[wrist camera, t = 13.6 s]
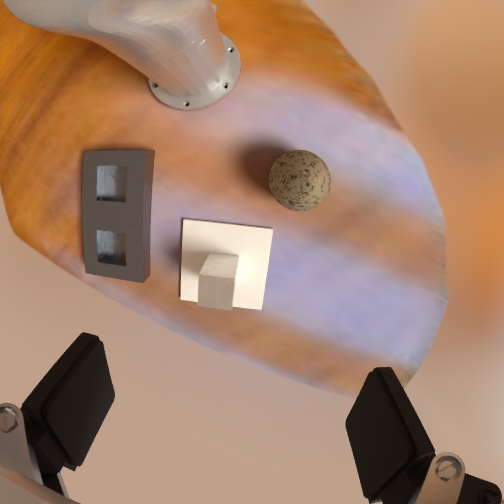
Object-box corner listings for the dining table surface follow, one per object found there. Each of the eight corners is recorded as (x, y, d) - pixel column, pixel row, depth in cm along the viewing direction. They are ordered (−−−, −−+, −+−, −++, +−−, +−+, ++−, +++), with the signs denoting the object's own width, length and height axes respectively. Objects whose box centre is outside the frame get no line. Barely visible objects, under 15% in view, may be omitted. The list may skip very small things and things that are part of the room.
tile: (184, 218, 38) (183, 219, 37) (272, 228, 38) (273, 229, 37) (181, 297, 41) (180, 299, 41) (261, 307, 41) (261, 309, 41)
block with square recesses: (94, 151, 35) (84, 151, 32) (154, 150, 35) (146, 150, 32) (94, 266, 40) (85, 273, 37) (150, 275, 40) (143, 282, 37)
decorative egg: (276, 211, 37) (282, 228, 28) (260, 159, 35) (261, 158, 26) (327, 197, 36) (350, 209, 27) (313, 145, 34) (332, 139, 25)
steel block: (210, 252, 38) (198, 274, 31) (239, 255, 38) (234, 278, 31) (208, 279, 40) (197, 305, 32) (236, 282, 40) (231, 310, 32)
